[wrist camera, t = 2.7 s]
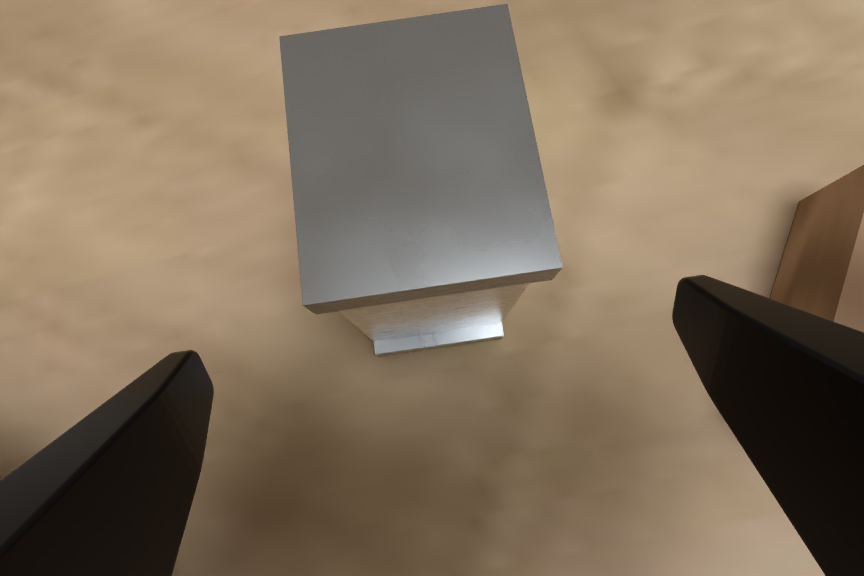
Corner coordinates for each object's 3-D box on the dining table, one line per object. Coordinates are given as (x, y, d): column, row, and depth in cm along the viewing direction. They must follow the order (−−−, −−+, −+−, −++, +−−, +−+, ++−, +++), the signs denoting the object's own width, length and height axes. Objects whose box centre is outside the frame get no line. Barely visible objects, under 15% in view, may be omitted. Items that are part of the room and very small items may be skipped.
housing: (501, 338, 20) (562, 267, 10) (378, 356, 20) (302, 305, 10) (477, 201, 22) (507, 3, 11) (362, 218, 22) (279, 36, 11)
